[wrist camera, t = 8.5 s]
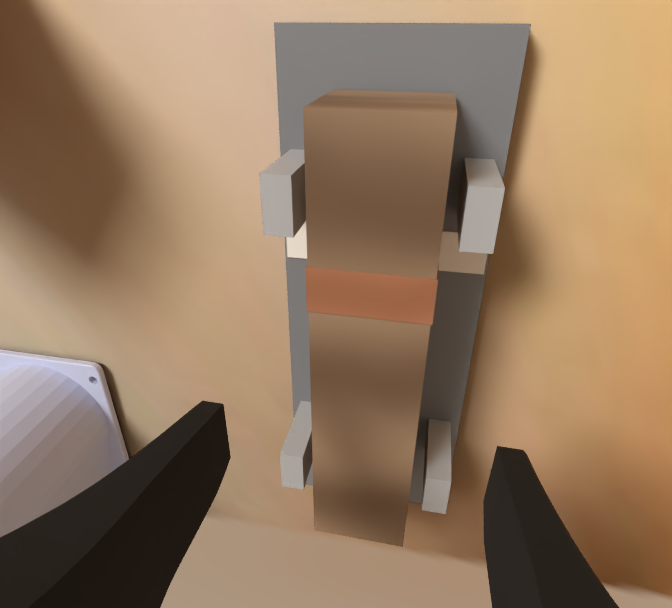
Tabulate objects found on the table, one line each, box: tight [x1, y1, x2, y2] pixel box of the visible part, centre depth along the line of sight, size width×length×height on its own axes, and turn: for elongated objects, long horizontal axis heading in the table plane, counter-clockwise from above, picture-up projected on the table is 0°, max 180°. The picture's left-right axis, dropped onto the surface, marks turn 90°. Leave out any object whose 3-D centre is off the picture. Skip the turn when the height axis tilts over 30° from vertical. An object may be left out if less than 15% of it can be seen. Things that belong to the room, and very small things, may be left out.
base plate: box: [259, 23, 531, 514], centre depth 19 cm, size 22×8×4 cm, turn 179°
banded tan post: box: [303, 89, 457, 547], centre depth 19 cm, size 18×4×4 cm, turn 179°
